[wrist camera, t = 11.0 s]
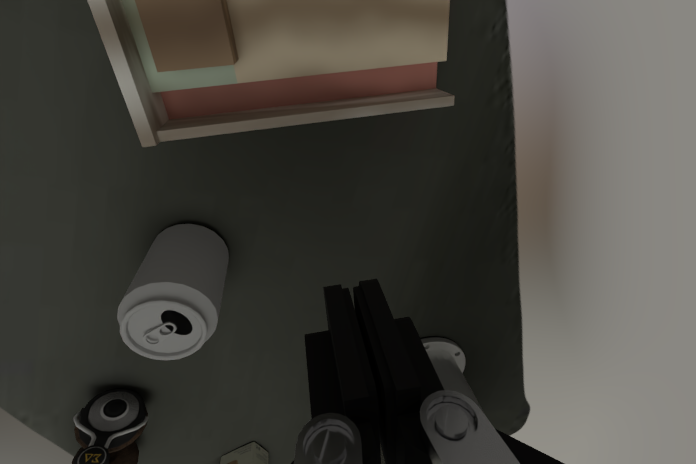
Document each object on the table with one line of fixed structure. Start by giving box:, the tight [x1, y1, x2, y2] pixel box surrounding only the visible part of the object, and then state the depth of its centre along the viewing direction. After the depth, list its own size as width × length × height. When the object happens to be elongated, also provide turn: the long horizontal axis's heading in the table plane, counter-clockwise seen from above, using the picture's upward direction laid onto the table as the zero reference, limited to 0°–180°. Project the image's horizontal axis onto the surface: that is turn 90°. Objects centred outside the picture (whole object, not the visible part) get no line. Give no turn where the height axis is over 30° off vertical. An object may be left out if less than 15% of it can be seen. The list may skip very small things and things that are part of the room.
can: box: [117, 224, 229, 360], centre depth 33 cm, size 8×8×12 cm
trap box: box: [87, 0, 454, 147], centre depth 27 cm, size 15×25×6 cm, turn 95°
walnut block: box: [135, 0, 239, 72], centre depth 25 cm, size 5×5×4 cm
